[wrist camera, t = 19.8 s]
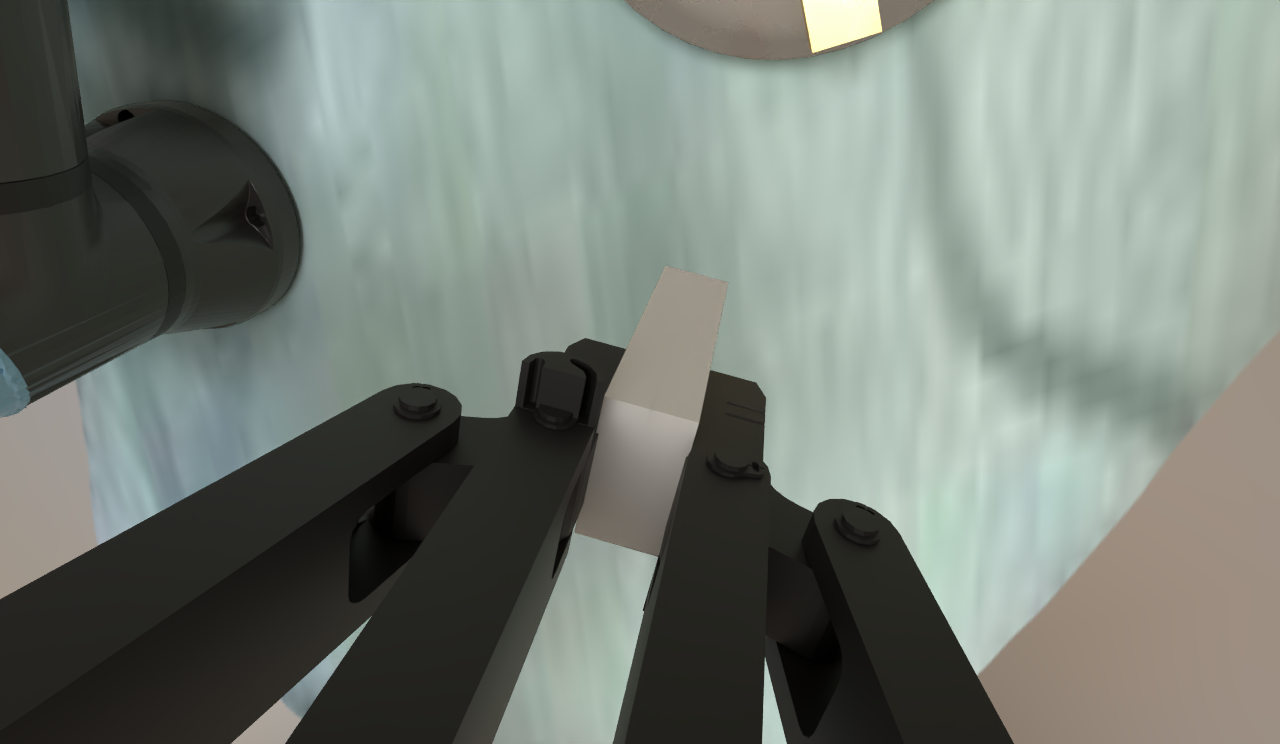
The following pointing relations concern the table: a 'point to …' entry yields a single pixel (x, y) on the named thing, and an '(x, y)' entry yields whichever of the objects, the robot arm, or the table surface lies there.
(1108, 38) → the table surface
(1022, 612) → the table surface
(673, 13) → the turntable
